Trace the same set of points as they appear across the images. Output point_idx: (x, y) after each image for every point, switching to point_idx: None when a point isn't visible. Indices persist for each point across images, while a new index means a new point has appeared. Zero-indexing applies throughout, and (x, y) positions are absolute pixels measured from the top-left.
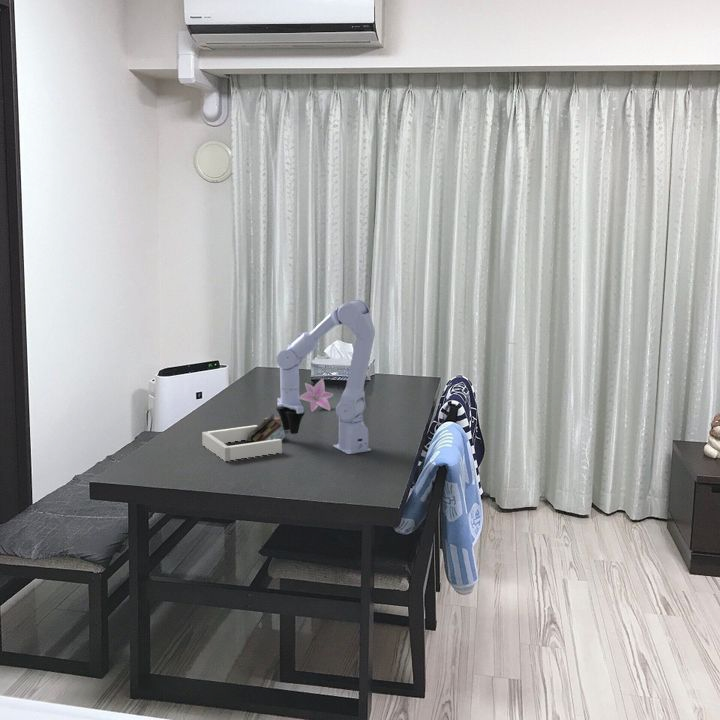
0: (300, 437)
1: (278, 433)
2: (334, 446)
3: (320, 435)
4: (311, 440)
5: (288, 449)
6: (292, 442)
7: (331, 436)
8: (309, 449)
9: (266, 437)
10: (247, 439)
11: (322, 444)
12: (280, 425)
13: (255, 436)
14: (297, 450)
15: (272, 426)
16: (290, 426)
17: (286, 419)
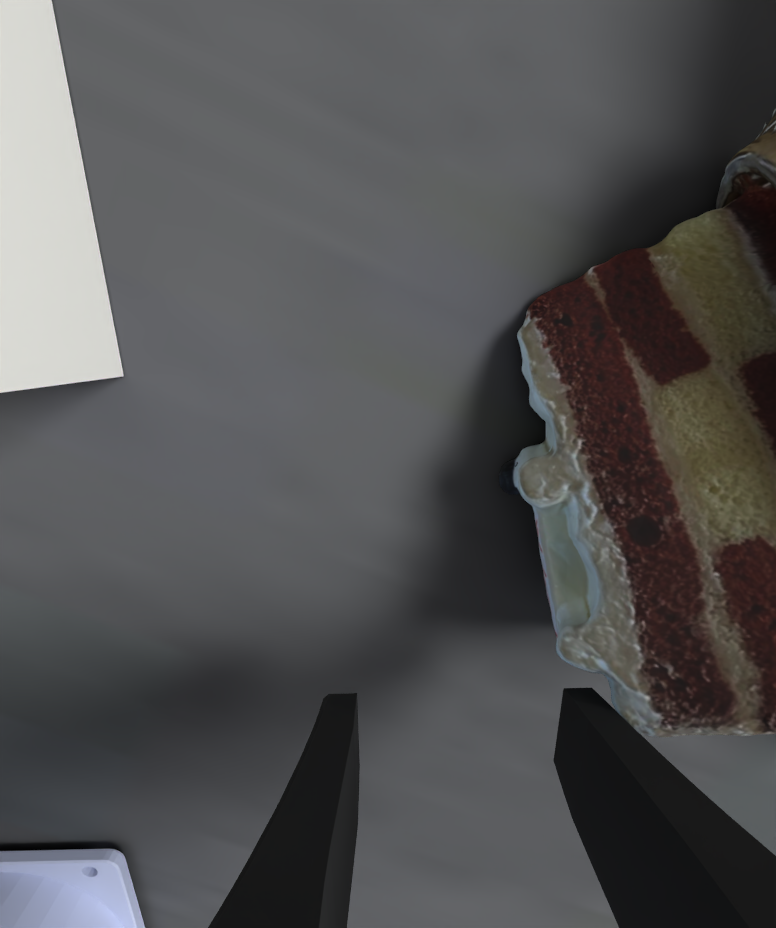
0: (531, 746)
1: (589, 587)
2: (84, 856)
3: (490, 879)
4: (390, 783)
5: (189, 503)
6: (417, 632)
7: (418, 923)
8: (116, 672)
9: (581, 393)
10: (764, 127)
11: (231, 807)
12: (684, 711)
13: (740, 260)
14: (119, 567)
15: (771, 594)
16: (281, 807)
17: (677, 922)
